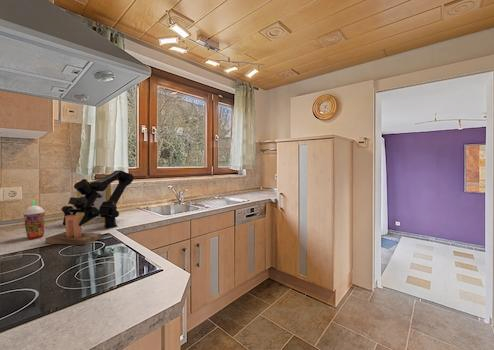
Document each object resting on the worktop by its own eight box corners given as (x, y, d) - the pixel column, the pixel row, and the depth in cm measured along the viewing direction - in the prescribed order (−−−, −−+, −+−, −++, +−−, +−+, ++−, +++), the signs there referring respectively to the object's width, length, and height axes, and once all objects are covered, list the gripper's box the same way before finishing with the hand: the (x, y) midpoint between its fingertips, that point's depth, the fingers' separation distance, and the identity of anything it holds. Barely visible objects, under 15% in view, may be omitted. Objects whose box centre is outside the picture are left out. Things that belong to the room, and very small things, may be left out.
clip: (71, 239, 117) (70, 214, 116) (82, 239, 116) (80, 215, 115) (66, 241, 114) (65, 216, 113) (76, 241, 113) (75, 216, 112)
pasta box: (78, 226, 141) (76, 181, 139) (79, 222, 149) (76, 180, 148) (112, 221, 151) (110, 180, 150) (110, 218, 160) (109, 179, 158)
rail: (64, 236, 121) (64, 231, 121) (101, 238, 118) (101, 233, 118) (45, 243, 112) (45, 238, 111) (85, 245, 109) (85, 240, 108)
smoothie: (22, 241, 114) (20, 202, 113) (27, 236, 121) (25, 200, 120) (44, 238, 119) (42, 200, 117) (47, 234, 126) (45, 198, 125)
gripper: (63, 190, 119) (43, 216, 109) (95, 191, 116) (77, 217, 106) (77, 202, 127) (59, 227, 117) (107, 203, 125) (91, 229, 114)
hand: (71, 225), depth 113 cm, fingers open, 9 cm apart
